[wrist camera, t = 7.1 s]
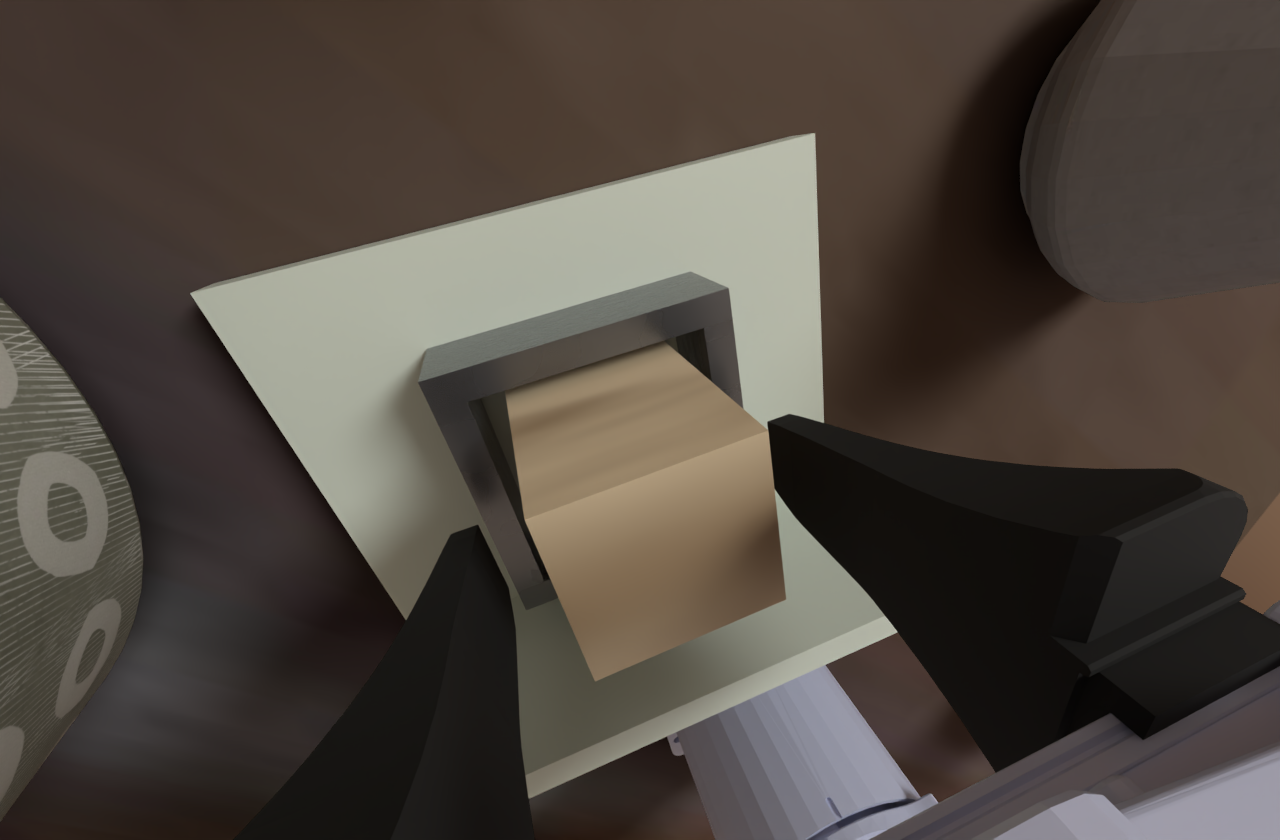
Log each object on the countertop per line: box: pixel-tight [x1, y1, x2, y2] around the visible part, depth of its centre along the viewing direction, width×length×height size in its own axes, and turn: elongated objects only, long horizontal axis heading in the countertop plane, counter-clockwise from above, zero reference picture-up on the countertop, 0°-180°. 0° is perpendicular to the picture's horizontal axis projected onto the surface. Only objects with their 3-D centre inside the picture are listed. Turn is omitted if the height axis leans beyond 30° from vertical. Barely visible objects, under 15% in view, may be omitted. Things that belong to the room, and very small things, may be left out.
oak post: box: [505, 341, 786, 681], centre depth 12 cm, size 4×4×7 cm
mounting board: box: [190, 133, 897, 798], centre depth 14 cm, size 13×16×7 cm
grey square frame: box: [418, 271, 744, 610], centre depth 15 cm, size 9×8×2 cm
